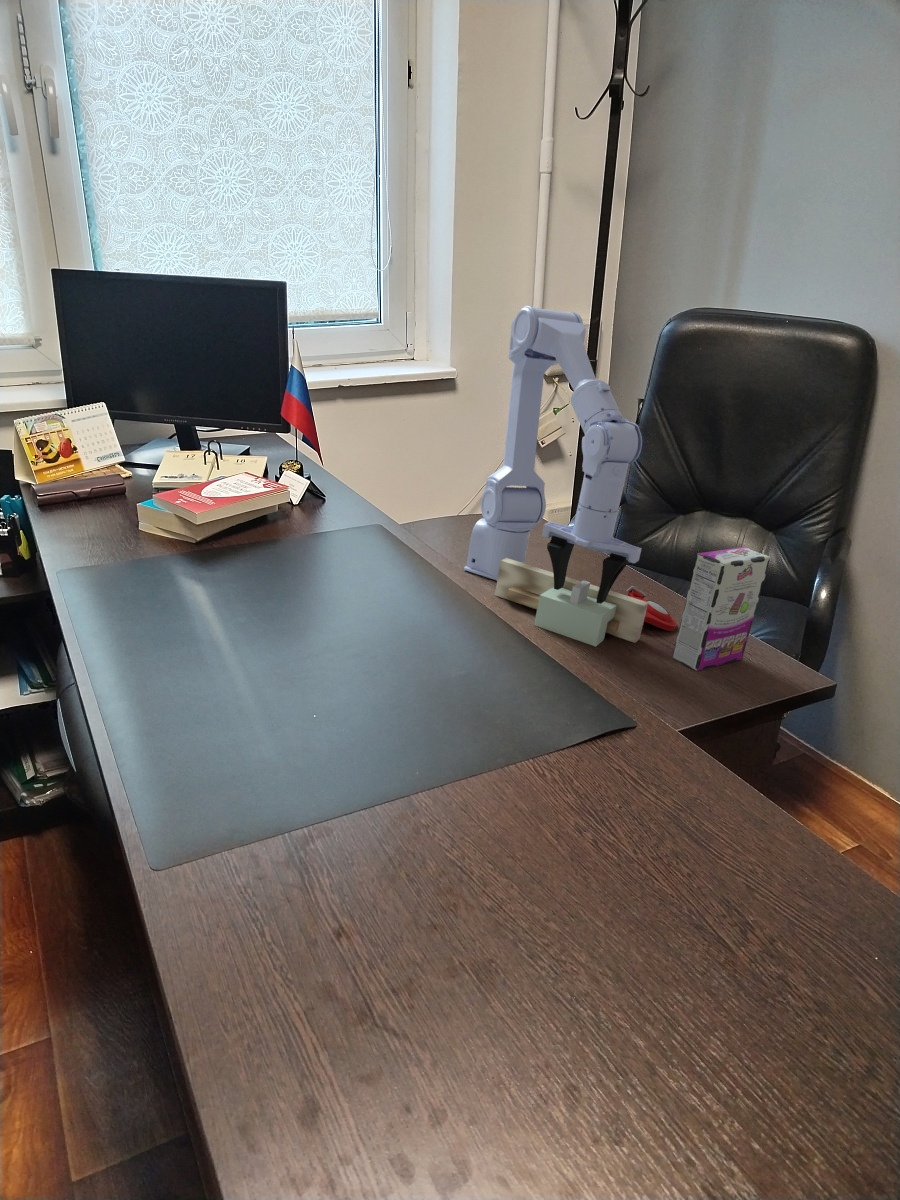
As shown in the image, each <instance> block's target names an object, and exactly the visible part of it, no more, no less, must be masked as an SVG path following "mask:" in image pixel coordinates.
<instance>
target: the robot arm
mask: <svg viewBox="0 0 900 1200" xmlns="http://www.w3.org/2000/svg"><path fill="white" fill-rule="evenodd" d="M586 330H587V328H586V326H585V325H584V322H583V318H582V317H581V315H580V314H579V313H578V312H575V311H574V312H573V311H571V312H567V311H559V310H553V309H545V308H538V307H537V308H536V307H533V306H530V305H525V306H523V307H521V309H520V310H519V311H518V312H517V314H516V315H515V317H514V318H513V320H512V321H511V327H510V339H509V349H508V350H509V351H508V352H509V353H508V359H509V360H510V361H511V362H512V371H511V382H510V390H509V391H510V392H509V402H508V412H507V421H506V424H507V425H506V431H505V442H504V454H503V464H502V466H501V467H500V468H499V469H498V470H496V471H495V472H492V474H490V475H489V476H488V477H486V482H485V488H484V490H483V491H484V492H483V493H482V496H481V498H480V499H481V500H480V512H481V515H482V518H480V519H479V520H477V522H476V523H475V524H474V526H473V528H472V532H471V535H470V539H469V548H468V553H467V560H466V565H465V566H464V567H463V570H464V571H466V572H469V573H473V574H476V575H479V576H482V577H484V578H488V579H492V580H493V581H497V579H498V573H499V568H500V562H501V560H503V559H505V558H509V559H512V560H515V561H518V562H521V563H524V564H525V561H526V557H527V551H528V546H529V540H530V535H531V531H532V530H535V529H536V528H535V527H536V525H537V524H539V523H541V521H542V520H543V518H544V516H545V513H546V509H547V502H546V496H545V495H546V494H545V485H546V484H545V481H544V480H543V478H541V476H539V474H538V473H537V472H536V471H535V462H536V453H537V444H538V443H537V442H538V436H539V434H538V433H539V426H540V425H539V423H540V416H541V405H542V397H543V396H542V395H543V389H544V388H543V387H544V377H545V374H546V372H547V371H548V370H549V369H550V368H551V367H552V366H556V365H559V366H560V368H561V370H562V372H563V373H564V375H565V377H566V379H567V381H568V382H569V385H571V389H572V390H573V392H572V394H571V396H570V404H571V406H572V409H573V411H574V413H575V415H576V418H577V420H578V422H579V424H580V426H581V429H582V432H583V433H584V436H582V440H581V451H582V455H583V458H582V459H583V460H582V466H581V467H582V472H584V475H583V478H582V479H583V480H582V484H581V489H580V493H579V499H578V504H577V509H576V512H575V517H574V523H573V526H570V525H565V524H560V523H555V522H553V521H549V522H546V523H544V524H543V529H542V533H541V536H542V538H547V539H549V538H551V539H550V540H549V542H548V543H547V544H546V547H547V548H546V549H547V551H548V555H549V557H550V561H551V566H552V572H553V574H554V589H556V590H559V589H561V588H562V587H563V586H564V583H565V578H566V577H567V572H568V567H569V563H570V558H571V555H572V552H573V549H574V546H578V547H582V548H585V549H589V550H592V551H596V552H598V553H601V554H606V555H609V556H607V557H606V558H604V559H603V560H602V571H601V572H602V573H601V580H600V585H599V587H600V588H599V591H598V595H597V602H596V603H599V604H602V603H603V602H604V601H606V598H607V595H608V593H609V591H611V589H612V587H613V585H614V583H615V582H616V580H617V579H618V578H619V576H620V574H621V573H622V571H624V569H625V568H626V566H627V565H629V563H631V564H636V563H638V562H640V557H641V552H642V547H639V546H637V545H636V546H635V545H634V544H633V545H632V544H631V543H628V542H626V541H623V540H621V539H618V538H616V537H613V535H614V530H615V528H616V526H615V525H616V522H617V517H618V513H619V510H620V503H621V500H622V495H623V491H624V486H625V481H626V478H627V474H628V468H629V465H632V464H633V463H634V462H636V461H637V460H638V459H639V457H640V454H641V451H642V447H643V446H642V445H643V436H642V433H641V431H640V426H639V425H638V424H637V423H635V422H633V421H629V420H628V418H626V417H624V416H623V414H622V412H621V410H620V408H619V406H618V404H617V402H616V400H615V397H614V396H613V393H612V389H611V387H610V385H609V383H607V382H605V381H603V380H601V379H597V377H596V376H595V373H594V370H593V367H592V364H591V361H590V358H589V356H588V353H587V350H586V348H585V345H584V342H585V338H586V335H587V334H586V333H587V331H586ZM512 486H513V487H512ZM515 486H516V487H515Z"/></svg>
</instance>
